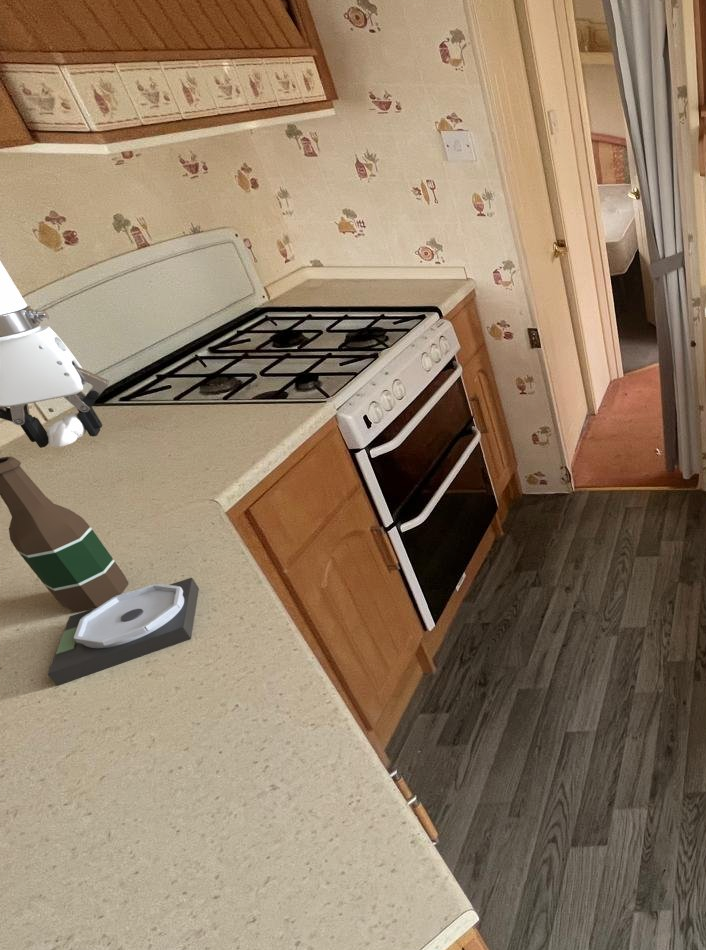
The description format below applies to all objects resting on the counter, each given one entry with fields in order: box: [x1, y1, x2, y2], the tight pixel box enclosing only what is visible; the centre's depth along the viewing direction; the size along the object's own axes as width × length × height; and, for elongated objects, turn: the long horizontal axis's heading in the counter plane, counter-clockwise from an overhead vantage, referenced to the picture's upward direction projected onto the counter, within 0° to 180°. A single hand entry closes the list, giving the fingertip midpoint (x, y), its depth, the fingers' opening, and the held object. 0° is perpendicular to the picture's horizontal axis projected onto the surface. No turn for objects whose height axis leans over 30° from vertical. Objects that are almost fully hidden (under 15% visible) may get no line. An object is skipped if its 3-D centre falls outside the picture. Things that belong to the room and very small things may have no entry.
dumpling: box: [46, 412, 87, 448], centre depth 103 cm, size 7×5×4 cm
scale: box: [46, 577, 200, 686], centre depth 95 cm, size 14×13×4 cm
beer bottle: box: [0, 456, 129, 613], centre depth 97 cm, size 8×8×24 cm
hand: (70, 437), depth 104 cm, fingers closed on dumpling, 5 cm apart
